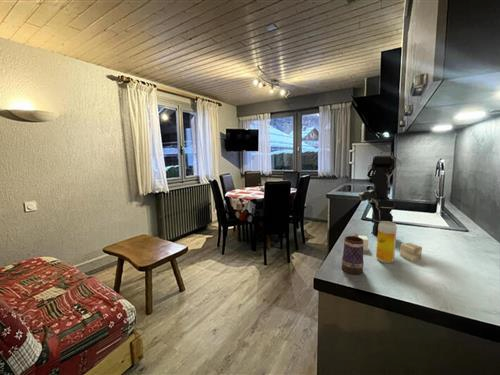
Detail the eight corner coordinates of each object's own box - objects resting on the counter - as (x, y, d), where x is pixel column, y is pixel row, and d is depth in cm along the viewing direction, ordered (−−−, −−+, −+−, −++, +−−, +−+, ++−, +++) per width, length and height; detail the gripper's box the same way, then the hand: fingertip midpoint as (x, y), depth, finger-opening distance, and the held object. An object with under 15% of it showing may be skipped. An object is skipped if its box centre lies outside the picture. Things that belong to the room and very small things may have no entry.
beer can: (376, 255, 94) (378, 219, 92) (393, 258, 91) (396, 222, 89) (375, 261, 89) (378, 223, 87) (393, 264, 86) (397, 226, 84)
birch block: (408, 254, 96) (409, 242, 96) (420, 259, 91) (422, 247, 91) (399, 255, 95) (400, 244, 94) (411, 260, 90) (412, 248, 89)
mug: (361, 277, 77) (363, 242, 76) (339, 271, 81) (341, 238, 80) (365, 265, 86) (367, 234, 84) (345, 260, 90) (347, 230, 88)
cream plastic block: (365, 246, 104) (366, 236, 104) (367, 250, 99) (368, 239, 99) (353, 245, 106) (353, 234, 105) (354, 249, 101) (355, 238, 100)
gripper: (356, 182, 110) (354, 214, 112) (366, 185, 92) (363, 223, 94) (382, 183, 108) (379, 216, 109) (397, 187, 90) (393, 226, 91)
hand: (378, 220), depth 101 cm, fingers open, 9 cm apart
